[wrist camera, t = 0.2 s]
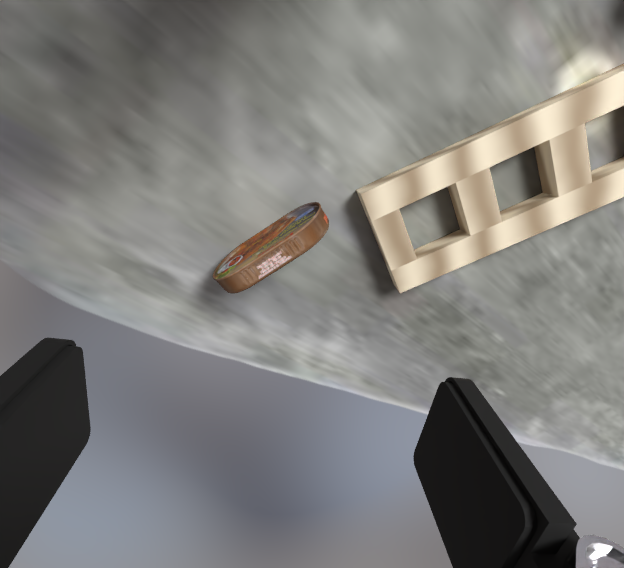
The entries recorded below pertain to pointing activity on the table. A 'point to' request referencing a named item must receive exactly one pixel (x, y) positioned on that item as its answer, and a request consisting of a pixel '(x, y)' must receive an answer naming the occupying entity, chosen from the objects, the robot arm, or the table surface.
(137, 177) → the table surface
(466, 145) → the wooden rack
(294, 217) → the tin
